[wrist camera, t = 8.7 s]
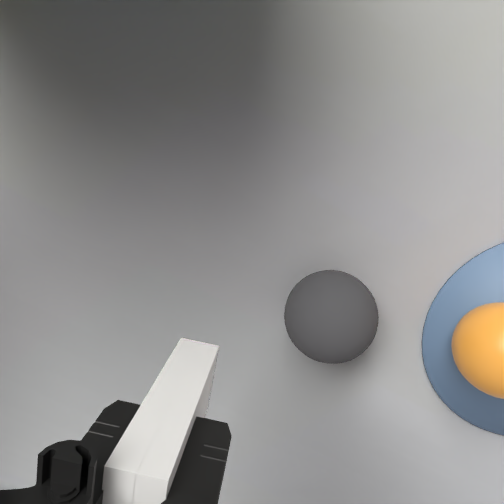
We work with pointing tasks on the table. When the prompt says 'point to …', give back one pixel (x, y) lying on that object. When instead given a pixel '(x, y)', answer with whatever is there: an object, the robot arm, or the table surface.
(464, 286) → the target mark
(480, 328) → the object ball
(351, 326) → the dark gray ball
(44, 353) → the table surface
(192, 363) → the robot arm
